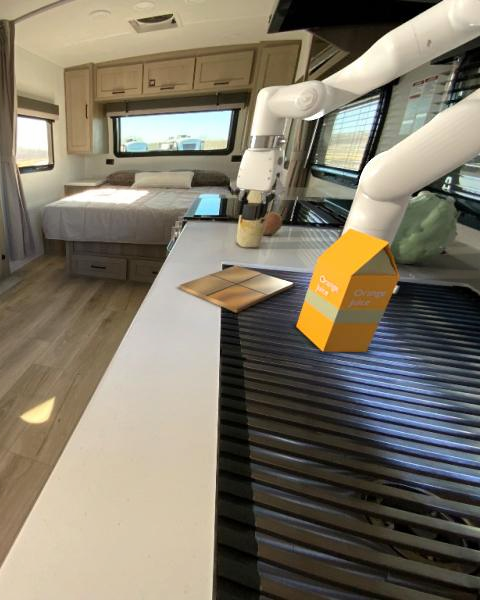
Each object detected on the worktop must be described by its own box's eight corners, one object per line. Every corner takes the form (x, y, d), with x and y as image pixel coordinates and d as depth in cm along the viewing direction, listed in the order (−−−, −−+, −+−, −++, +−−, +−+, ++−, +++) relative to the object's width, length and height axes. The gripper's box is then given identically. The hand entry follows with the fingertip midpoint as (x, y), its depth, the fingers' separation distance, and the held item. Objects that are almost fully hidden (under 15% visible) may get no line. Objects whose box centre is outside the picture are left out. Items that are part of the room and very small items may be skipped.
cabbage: (365, 264, 97) (393, 194, 88) (373, 250, 109) (398, 186, 100) (440, 278, 87) (479, 200, 78) (439, 260, 99) (473, 191, 90)
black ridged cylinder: (263, 219, 91) (266, 204, 90) (253, 221, 89) (256, 206, 87) (247, 216, 95) (250, 202, 93) (237, 218, 93) (239, 204, 91)
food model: (265, 248, 113) (279, 186, 104) (251, 250, 110) (265, 188, 101) (241, 240, 121) (253, 183, 112) (228, 243, 118) (239, 184, 109)
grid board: (292, 286, 84) (293, 282, 83) (236, 312, 72) (237, 308, 72) (235, 268, 96) (236, 265, 95) (179, 288, 84) (179, 284, 84)
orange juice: (334, 326, 66) (372, 228, 58) (367, 352, 58) (416, 242, 50) (294, 326, 67) (326, 228, 58) (322, 351, 59) (362, 242, 50)
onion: (253, 242, 129) (245, 218, 126) (264, 231, 133) (257, 208, 130) (278, 238, 121) (271, 213, 118) (289, 227, 125) (282, 202, 123)
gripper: (308, 143, 79) (289, 219, 87) (243, 143, 92) (231, 210, 100) (291, 144, 76) (273, 223, 84) (226, 144, 89) (216, 213, 96)
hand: (250, 215), depth 92 cm, fingers closed on black ridged cylinder, 4 cm apart
